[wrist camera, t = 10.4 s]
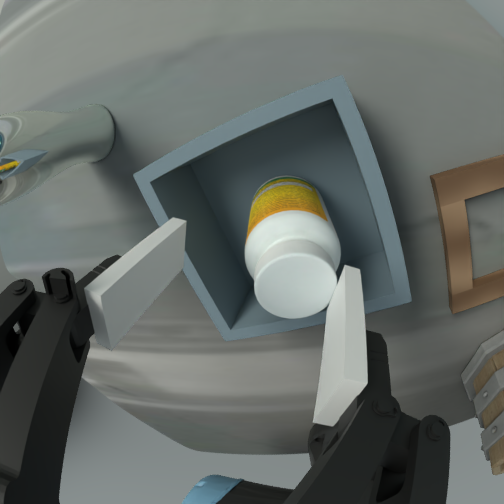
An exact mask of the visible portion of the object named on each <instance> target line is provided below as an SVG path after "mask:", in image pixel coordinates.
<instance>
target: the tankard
mask: <svg viewBox="0 0 504 504" xmlns="http://www.w3.org/2000/svg"><path fill="white" fill-rule="evenodd" d="M461 378H462V381H463V384H464V387H465V390H466V392H467V395H468V398H469V401H473V402H474V406H475V410H476V414H475V418H478V420H479V424H480V427H481V428H485V430H484V431H483V432H482V433H481V438H482V444H483V445H482V447H481V450H483V451H484V453H485V457H486V460H487V461H489V460H490V462H491V468H492V473H493V475H498V474H502V473H504V330H502V331H501V332H499V333H498V334H496V335H495V336H493V337H491V338H490V339H488V340H487V341H485V342H483V343H482V344H481V345H480V347H479V349H478V350H477V352H476V353H475V355H474V356H473V358H472V359H471V361H470V362H469V364H468V365H467V367H466V368H465V370H464V371H463V373H462V374H461Z"/></svg>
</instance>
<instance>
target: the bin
mask: <svg viewBox="0 0 504 504" xmlns="http://www.w3.org/2000/svg"><path fill="white" fill-rule="evenodd" d="M286 175H288V176H296V177H300V178H303V179H305V180H307V181H309V182H310V183H311V184H312V185H314V186H315V187H316V189H317V190H318V191H319V193H320V194H321V196H322V198H323V201H324V203H325V206H326V209H327V211H328V214H329V216H330V218H331V221H332V223H333V226H334V228H335V231H336V233H337V236H338V239H339V242H340V248H341V257H340V262H339V266H338V268H337V271H336V276H337V282H338V281H339V279H340V276H341V273H342V271H343V268H344V266H345V265H347V266H350V267H354V268H357V269H360V274H361V283H362V292H363V303H364V314H367V313H371V312H375V311H379V310H383V309H387V308H391V307H394V306H398V305H401V304H405V303H409V302H412V299H411V293H410V287H409V281H408V276H407V271H406V266H405V261H404V256H403V251H402V247H401V243H400V238H399V234H398V230H397V226H396V222H395V218H394V214H393V211H392V207H391V204H390V200H389V197H388V193H387V190H386V186H385V183H384V180H383V177H382V174H381V171H380V168H379V165H378V162H377V159H376V156H375V153H374V150H373V147H372V145H371V142H370V139H369V136H368V134H367V131H366V129H365V126H364V123H363V121H362V118H361V116H360V113H359V111H358V109H357V106H356V104H355V102H354V99H353V97H352V95H351V92H350V90H349V88H348V86H347V84H346V81H345V79H344V77H343V75H340V76H337V77H334V78H331V79H329V80H326V81H323V82H320V83H317V84H315V85H312V86H309V87H306V88H304V89H301V90H299V91H296V92H294V93H291V94H289V95H286V96H284V97H281V98H279V99H276V100H274V101H272V102H269V103H267V104H265V105H263V106H260V107H258V108H256V109H254V110H251V111H249V112H247V113H245V114H243V115H241V116H238V117H236V118H234V119H232V120H230V121H228V122H226V123H224V124H222V125H220V126H218V127H216V128H214V129H212V130H210V131H208V132H206V133H204V134H202V135H201V136H199V137H197V138H195V139H193V140H191V141H189V142H188V143H186V144H184V145H182V146H180V147H179V148H177V149H175V150H173V151H172V152H170V153H168V154H166V155H165V156H163V157H161V158H160V159H158V160H156V161H155V162H153V163H151V164H150V165H148V166H146V167H145V168H143V169H142V170H140V171H138V172H137V173H135V174H134V175H133V176H134V178H135V180H136V182H137V185H138V187H139V189H140V191H141V193H142V195H143V197H144V199H145V201H146V203H147V205H148V206H149V208H150V210H151V212H152V214H153V216H154V218H155V220H156V222H157V224H158V226H159V227H161V226H162V225H163V224H165V223H166V222H167V221H169V220H170V219H171V218H173V217H174V218H178V219H181V220H185V221H187V222H186V236H185V251H184V268H183V269H182V270H183V271H184V273H185V275H186V277H187V278H188V280H189V282H190V284H191V285H192V287H193V289H194V291H195V292H196V294H197V296H198V297H199V299H200V301H201V302H202V304H203V306H204V307H205V309H206V311H207V312H208V314H209V316H210V317H211V319H212V321H213V322H214V324H215V326H216V327H217V329H218V330H219V332H220V334H221V335H222V337H223V338H224V340H225V341H231V340H238V339H244V338H250V337H257V336H263V335H268V334H274V333H280V332H285V331H290V330H295V329H300V328H305V327H310V326H315V325H320V324H325V323H326V314H327V309H328V306H329V304H330V303H329V304H328V306H327V307H325V308H324V309H323V310H321V311H320V312H318V313H316V314H314V315H311V316H308V317H304V318H297V319H290V318H289V319H288V318H283V317H279V316H276V315H273V314H271V313H270V312H268V311H267V310H265V309H264V308H263V307H262V306H261V305H260V303H259V302H258V300H257V298H256V295H255V291H254V279H253V278H252V277H251V275H250V273H249V271H248V269H247V266H246V262H245V243H246V238H247V232H248V224H249V218H250V211H251V205H252V201H253V198H254V195H255V193H256V192H257V190H258V189H259V188H260V186H261V185H263V184H264V183H265V182H267V181H268V180H270V179H272V178H275V177H278V176H286Z"/></svg>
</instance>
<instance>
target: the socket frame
mask: <svg viewBox="0 0 504 504" xmlns="http://www.w3.org/2000/svg"><path fill="white" fill-rule="evenodd" d="M430 179H431V183H432V187H433V191H434V196H435V200H436V205H437V210H438V215H439V221H440V226H441V232H442V238H443V245H444V252H445V260H446V269H447V279H448V291H449V307H450V309H451V311H452V314H455V313H458V312H461V311H464V310H467V309H469V308H472V307H475V306H478V305H481V304H483V303H486V302H489V301H491V300H494V299H497V298H499V297H502V296H504V269H501V270H499V271H496V272H493V273H491V274H488V275H485V276H482V277H480V278H477V279H474V280H472V260H471V247H470V237H469V228H468V220H467V213H466V207H465V201H464V200H465V199H468V198H471V197H474V196H478V195H481V194H484V193H487V192H490V191H493V190H496V189H500V188H503V187H504V154H503V155H500V156H496V157H493V158H489V159H486V160H482V161H479V162H475V163H472V164H468V165H465V166H461V167H458V168H455V169H451V170H448V171H444V172H441V173H438V174H434V175H431V176H430Z"/></svg>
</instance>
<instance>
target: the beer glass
mask: <svg viewBox="0 0 504 504" xmlns="http://www.w3.org/2000/svg"><path fill="white" fill-rule="evenodd" d="M114 137H115V127H114V122H113V119H112V117H111V115H110V113H109V111H108V110H107V109H106V108H105V107H103V106H101V105H98V104H90V105H87V106H84V107H81V108H79V109H76V110H73V111H67V112H52V111H19V112H13V113H8V114H3V115H0V207H1V206H3V205H5V204H8V203H10V202H12V201H14V200H17V199H19V198H20V197H22V196H24V195H26V194H28V193H30V192H32V191H33V190H35V189H36V188H38V187H40V186H41V185H43V184H44V183H46V182H47V181H49V180H50V179H52V178H53V177H55V176H56V175H58V174H59V173H61V172H62V171H64V170H66V169H67V168H69V167H71V166H73V165H76V164H80V163H90V162H97V161H100V160H102V159H103V158H105V157H106V156H107V155H108V153H109V152H110V150H111V148H112V146H113V142H114Z"/></svg>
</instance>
